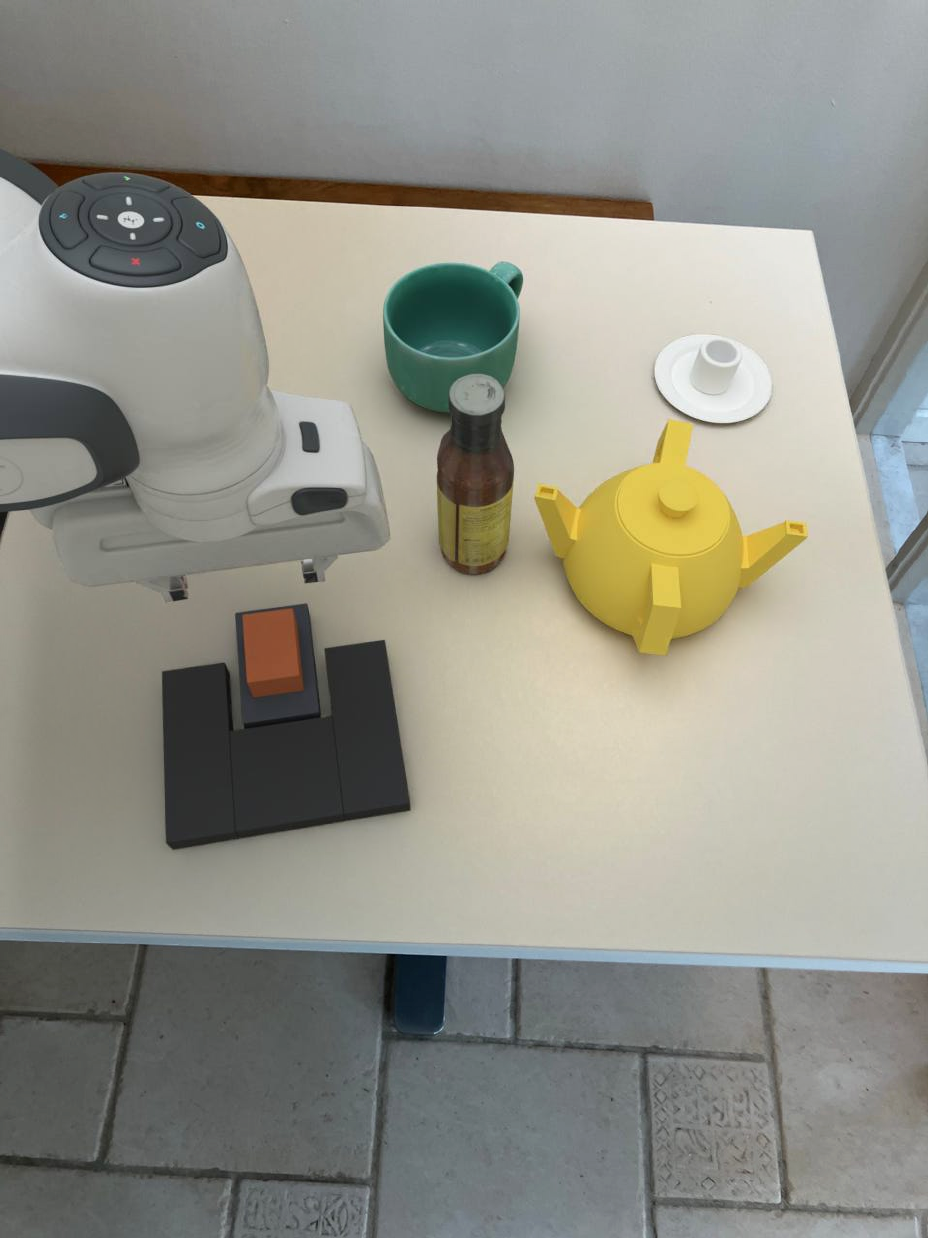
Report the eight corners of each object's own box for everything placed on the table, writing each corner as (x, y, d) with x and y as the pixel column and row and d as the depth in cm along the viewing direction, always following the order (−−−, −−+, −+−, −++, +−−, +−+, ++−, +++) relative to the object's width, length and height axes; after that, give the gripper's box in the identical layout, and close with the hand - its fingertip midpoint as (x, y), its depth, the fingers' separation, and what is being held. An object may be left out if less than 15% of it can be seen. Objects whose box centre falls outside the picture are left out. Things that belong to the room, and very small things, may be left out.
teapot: (655, 469, 85) (687, 380, 74) (778, 593, 79) (833, 516, 68) (516, 552, 80) (530, 469, 69) (637, 692, 74) (672, 625, 63)
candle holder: (774, 352, 93) (789, 321, 89) (764, 439, 87) (779, 409, 84) (661, 329, 94) (671, 296, 90) (644, 412, 88) (654, 382, 85)
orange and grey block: (246, 732, 71) (234, 708, 66) (239, 623, 75) (227, 594, 71) (321, 721, 72) (315, 697, 67) (309, 614, 76) (303, 584, 72)
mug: (449, 451, 85) (452, 381, 77) (360, 380, 89) (353, 306, 80) (562, 362, 91) (576, 288, 83) (473, 299, 95) (478, 223, 87)
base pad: (172, 850, 66) (165, 843, 64) (167, 681, 73) (161, 670, 71) (410, 810, 68) (410, 803, 67) (385, 649, 75) (384, 639, 73)
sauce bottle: (519, 539, 81) (545, 385, 63) (485, 589, 78) (502, 443, 60) (457, 507, 82) (466, 348, 64) (421, 556, 79) (421, 404, 62)
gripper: (10, 531, 47) (92, 644, 59) (393, 485, 50) (395, 602, 62) (15, 437, 50) (92, 564, 62) (377, 399, 52) (382, 527, 65)
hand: (246, 583), depth 62 cm, fingers open, 8 cm apart
